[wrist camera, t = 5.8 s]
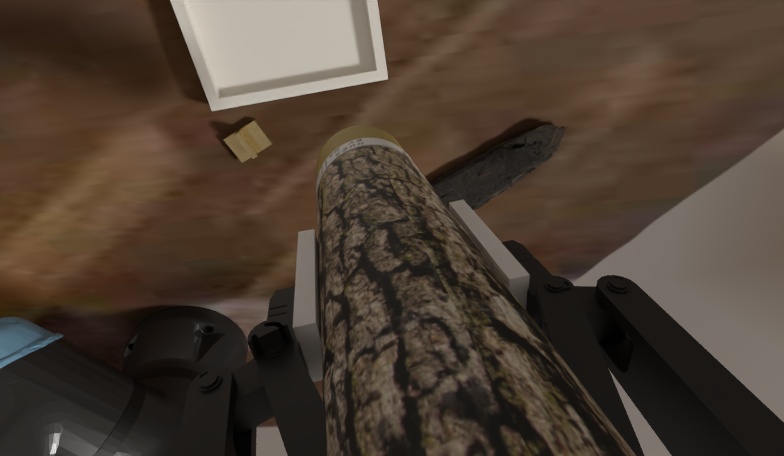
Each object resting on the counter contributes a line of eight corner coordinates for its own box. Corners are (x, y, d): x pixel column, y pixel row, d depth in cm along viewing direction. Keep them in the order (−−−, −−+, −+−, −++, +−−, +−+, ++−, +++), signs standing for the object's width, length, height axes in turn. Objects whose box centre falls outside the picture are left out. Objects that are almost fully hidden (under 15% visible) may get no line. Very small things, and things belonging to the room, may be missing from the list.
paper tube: (319, 211, 29) (341, 729, 8) (311, 123, 26) (315, 594, 4) (403, 205, 30) (629, 641, 9) (406, 121, 27) (772, 483, 6)
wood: (424, 235, 52) (430, 246, 49) (401, 193, 48) (407, 203, 46) (566, 157, 51) (580, 165, 48) (554, 108, 47) (569, 113, 44)
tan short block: (243, 159, 42) (239, 167, 40) (225, 137, 41) (220, 143, 38) (273, 141, 42) (270, 148, 40) (255, 118, 40) (252, 123, 38)
